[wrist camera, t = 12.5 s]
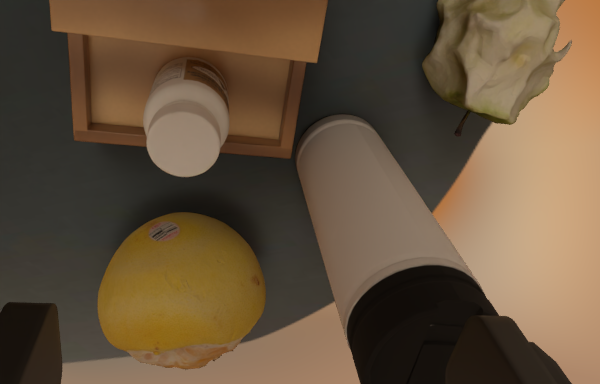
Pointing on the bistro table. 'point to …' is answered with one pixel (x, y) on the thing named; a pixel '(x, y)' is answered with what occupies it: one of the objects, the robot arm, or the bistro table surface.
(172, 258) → the fruit
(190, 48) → the stand
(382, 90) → the bistro table surface
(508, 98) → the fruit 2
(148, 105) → the pill bottle
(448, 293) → the travel mug
